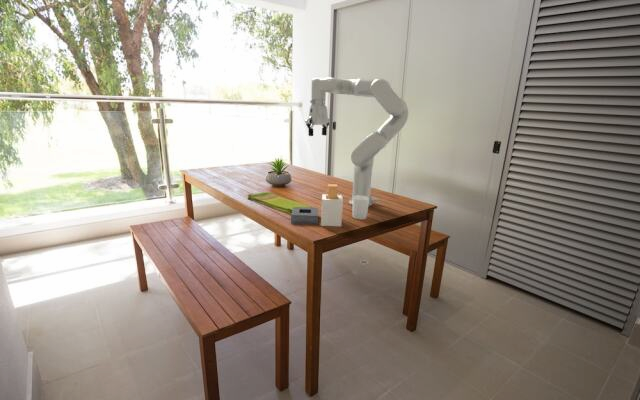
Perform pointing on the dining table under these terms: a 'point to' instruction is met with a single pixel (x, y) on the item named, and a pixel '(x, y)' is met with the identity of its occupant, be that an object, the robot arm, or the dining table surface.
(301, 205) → the dish towel
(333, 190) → the plug
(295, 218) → the lower socket plate
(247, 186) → the dining table surface
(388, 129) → the robot arm
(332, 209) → the upper stand
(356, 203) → the white cup
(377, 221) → the dining table surface
